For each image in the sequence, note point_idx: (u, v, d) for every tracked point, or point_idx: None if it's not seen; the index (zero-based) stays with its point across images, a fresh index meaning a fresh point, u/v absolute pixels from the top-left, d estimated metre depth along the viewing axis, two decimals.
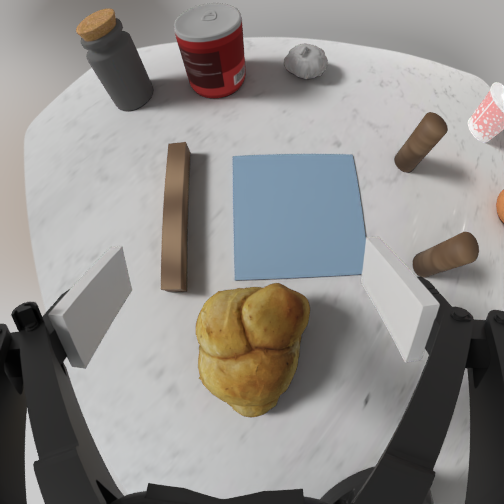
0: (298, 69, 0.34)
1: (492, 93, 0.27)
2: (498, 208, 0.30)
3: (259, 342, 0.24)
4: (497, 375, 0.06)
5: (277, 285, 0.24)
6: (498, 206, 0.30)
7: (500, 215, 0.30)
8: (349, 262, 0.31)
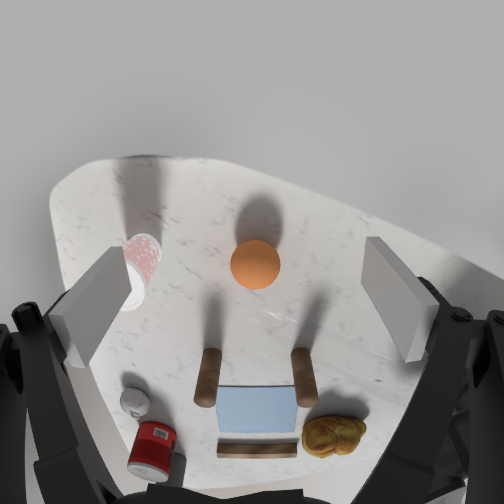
0: (147, 410, 0.46)
1: None
2: None
3: (331, 449, 0.44)
4: (497, 375, 0.06)
5: (307, 447, 0.44)
6: None
7: None
8: (291, 395, 0.46)
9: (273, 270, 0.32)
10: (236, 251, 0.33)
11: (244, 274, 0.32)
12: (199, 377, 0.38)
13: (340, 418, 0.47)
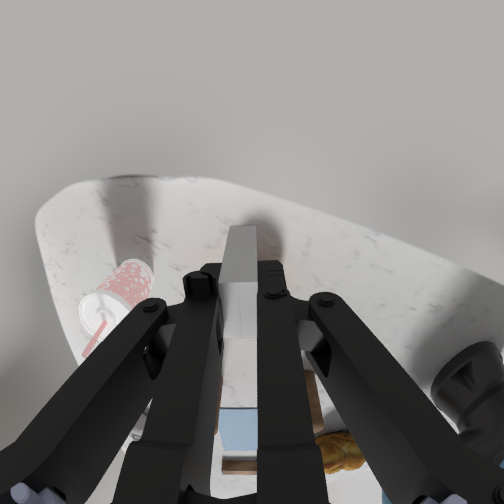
0: None
1: None
2: None
3: (339, 466, 0.41)
4: (346, 363, 0.08)
5: None
6: None
7: None
8: None
9: None
10: None
11: None
12: None
13: (348, 435, 0.44)
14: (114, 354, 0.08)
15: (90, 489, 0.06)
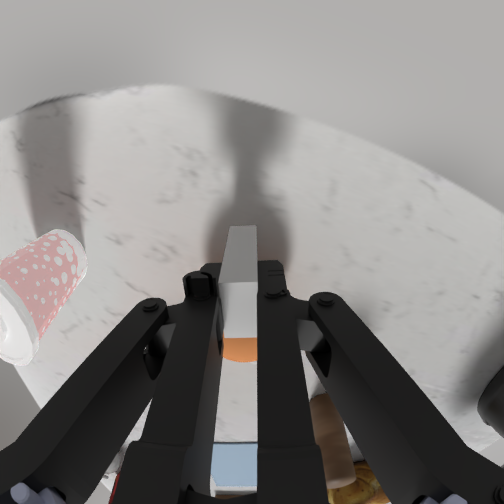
0: (117, 466, 0.30)
1: None
2: None
3: None
4: (346, 363, 0.08)
5: None
6: None
7: None
8: None
9: None
10: None
11: None
12: None
13: None
14: (114, 354, 0.08)
15: (90, 489, 0.06)
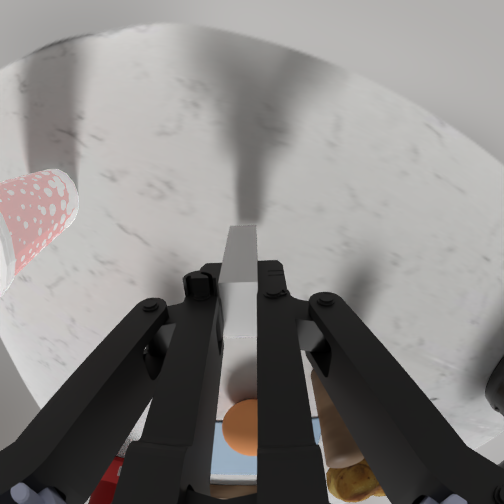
0: None
1: None
2: None
3: None
4: (346, 363, 0.08)
5: (339, 496, 0.26)
6: None
7: None
8: None
9: None
10: (228, 432, 0.22)
11: None
12: None
13: None
14: (114, 354, 0.08)
15: (90, 489, 0.06)
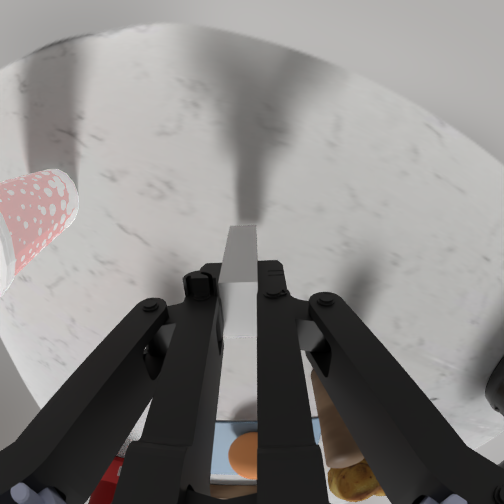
0: None
1: None
2: (254, 441, 0.26)
3: None
4: (346, 363, 0.08)
5: (341, 495, 0.26)
6: (252, 440, 0.26)
7: None
8: None
9: None
10: None
11: None
12: None
13: None
14: (114, 354, 0.08)
15: (90, 489, 0.06)
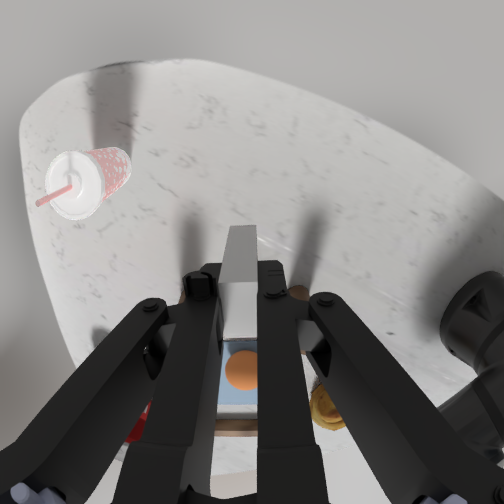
0: None
1: None
2: (245, 354, 0.38)
3: None
4: (346, 363, 0.08)
5: (320, 414, 0.38)
6: (243, 353, 0.38)
7: (252, 356, 0.38)
8: None
9: None
10: None
11: None
12: None
13: None
14: (114, 354, 0.08)
15: (90, 489, 0.06)
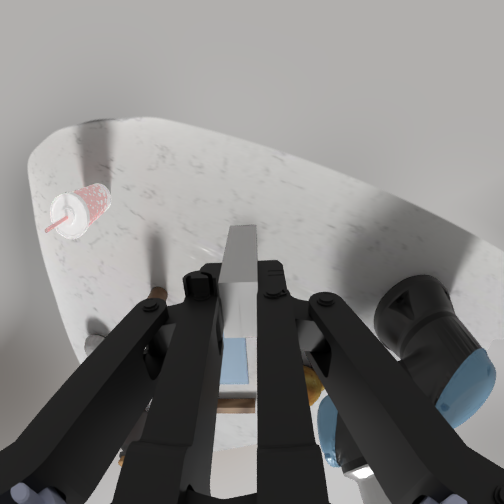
0: None
1: None
2: None
3: None
4: (346, 363, 0.08)
5: None
6: None
7: None
8: (237, 339, 0.51)
9: None
10: None
11: None
12: None
13: None
14: (114, 354, 0.08)
15: (90, 489, 0.06)
